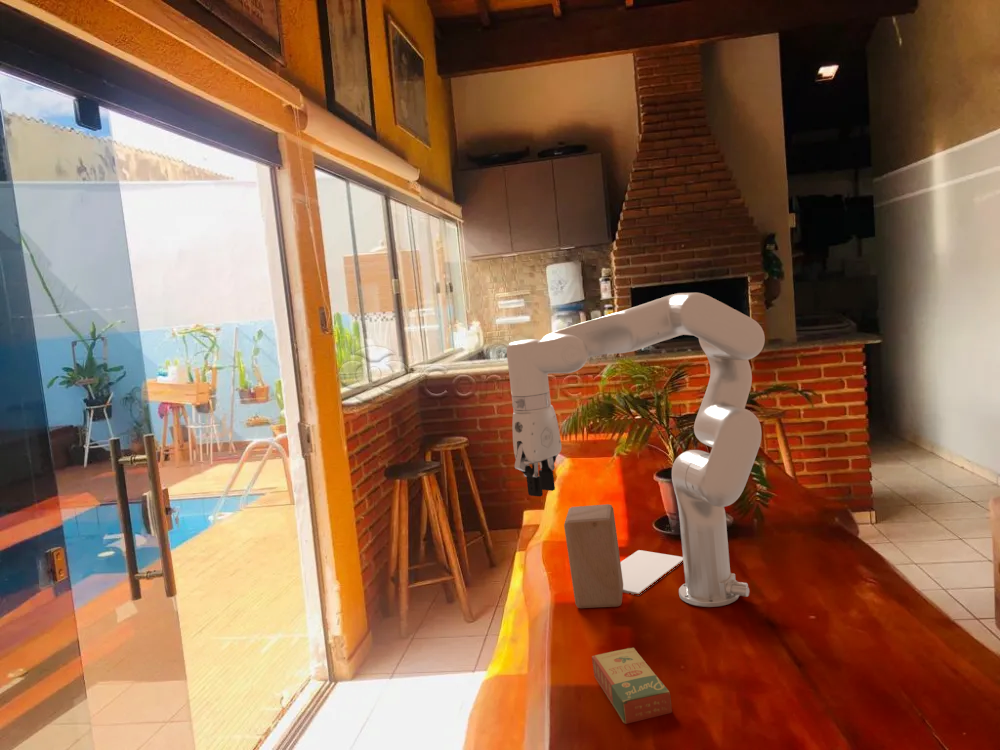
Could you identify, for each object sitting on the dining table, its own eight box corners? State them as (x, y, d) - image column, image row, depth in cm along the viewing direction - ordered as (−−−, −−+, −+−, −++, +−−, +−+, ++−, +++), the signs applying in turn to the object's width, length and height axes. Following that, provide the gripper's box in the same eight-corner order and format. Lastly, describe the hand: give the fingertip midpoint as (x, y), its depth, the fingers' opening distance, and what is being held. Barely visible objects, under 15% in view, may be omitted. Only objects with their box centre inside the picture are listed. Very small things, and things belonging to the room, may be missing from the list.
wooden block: (622, 608, 161) (610, 519, 158) (575, 610, 163) (562, 522, 160) (624, 586, 171) (612, 502, 167) (579, 589, 173) (568, 505, 170)
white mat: (685, 559, 184) (685, 557, 183) (638, 595, 167) (638, 592, 167) (638, 552, 192) (638, 549, 192) (589, 585, 175) (589, 582, 175)
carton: (636, 668, 138) (634, 645, 137) (673, 715, 122) (671, 690, 121) (593, 677, 136) (590, 654, 136) (624, 726, 120) (622, 700, 120)
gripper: (520, 411, 141) (531, 506, 143) (571, 394, 153) (580, 483, 155) (489, 410, 146) (501, 503, 148) (541, 394, 158) (551, 480, 160)
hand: (541, 491), depth 151 cm, fingers open, 3 cm apart
